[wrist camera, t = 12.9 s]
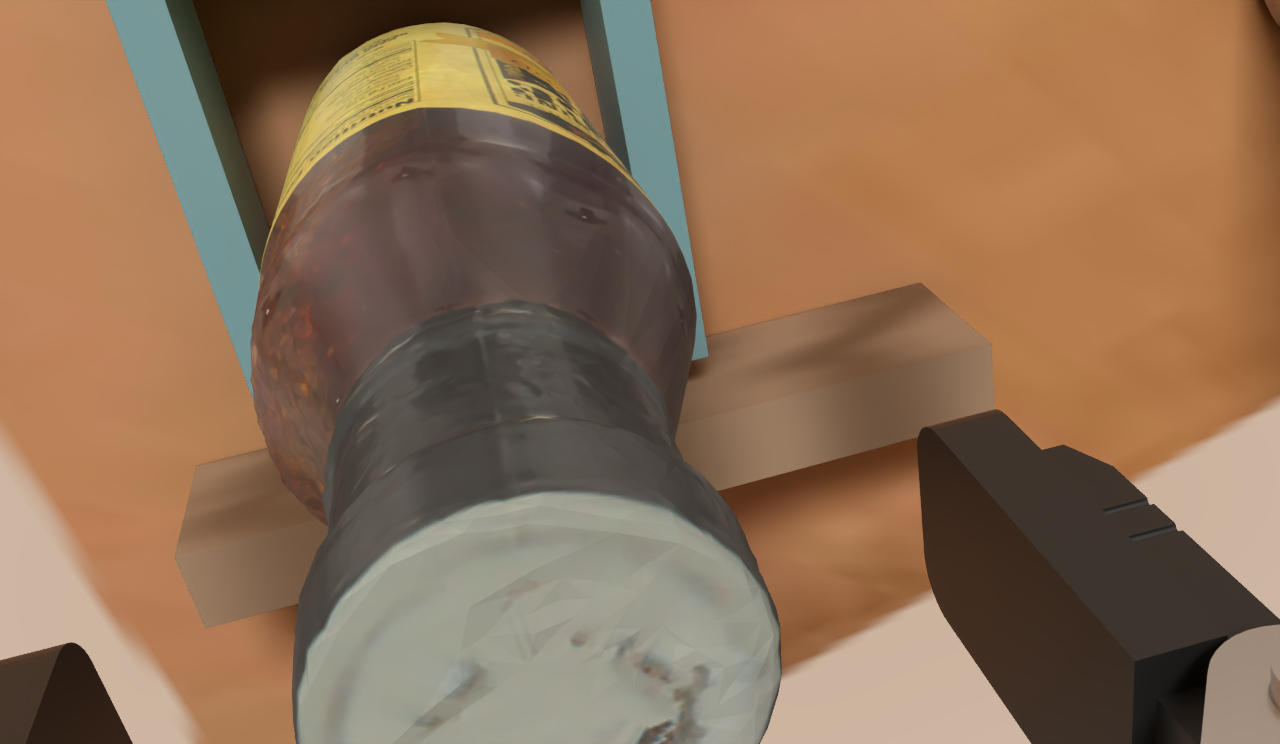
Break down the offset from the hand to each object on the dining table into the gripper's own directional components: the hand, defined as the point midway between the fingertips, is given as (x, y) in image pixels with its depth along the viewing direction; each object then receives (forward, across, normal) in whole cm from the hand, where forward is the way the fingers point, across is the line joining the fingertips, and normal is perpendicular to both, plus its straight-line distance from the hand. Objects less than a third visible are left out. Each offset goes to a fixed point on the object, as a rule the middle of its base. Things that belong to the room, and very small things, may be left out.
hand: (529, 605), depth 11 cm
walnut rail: (+18, -2, +8) cm, 20 cm away
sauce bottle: (+18, 0, 0) cm, 18 cm away
